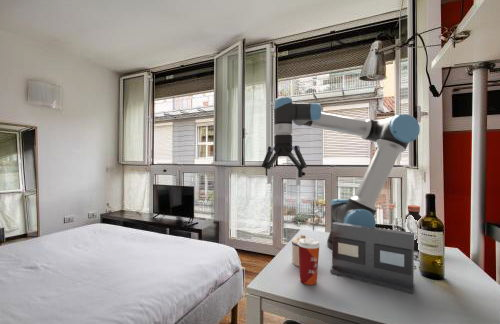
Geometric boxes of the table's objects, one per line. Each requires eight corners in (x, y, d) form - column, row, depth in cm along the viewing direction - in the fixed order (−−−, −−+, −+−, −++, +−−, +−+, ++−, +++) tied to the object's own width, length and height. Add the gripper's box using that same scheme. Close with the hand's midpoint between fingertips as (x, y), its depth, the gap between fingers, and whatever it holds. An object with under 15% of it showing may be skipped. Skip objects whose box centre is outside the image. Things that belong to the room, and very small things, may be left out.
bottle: (425, 250, 117) (426, 207, 116) (413, 251, 115) (414, 207, 115) (413, 245, 123) (413, 204, 123) (401, 246, 122) (401, 205, 121)
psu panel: (336, 265, 101) (336, 220, 101) (413, 283, 86) (414, 231, 86) (330, 272, 94) (330, 225, 94) (412, 293, 80) (413, 237, 79)
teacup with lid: (310, 269, 97) (310, 239, 97) (288, 264, 102) (288, 236, 102) (319, 259, 107) (319, 231, 107) (298, 254, 112) (298, 228, 112)
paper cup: (316, 288, 83) (317, 246, 83) (294, 283, 86) (295, 242, 86) (321, 279, 90) (322, 239, 90) (300, 274, 93) (301, 236, 93)
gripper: (254, 135, 112) (254, 183, 112) (307, 132, 98) (307, 187, 98) (262, 136, 118) (263, 182, 118) (314, 133, 104) (314, 185, 104)
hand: (283, 184), depth 108 cm, fingers open, 13 cm apart
